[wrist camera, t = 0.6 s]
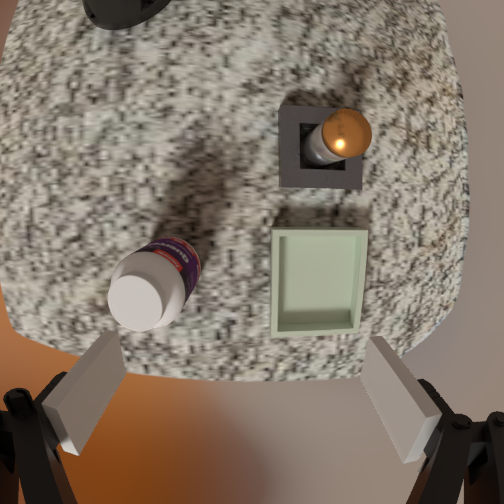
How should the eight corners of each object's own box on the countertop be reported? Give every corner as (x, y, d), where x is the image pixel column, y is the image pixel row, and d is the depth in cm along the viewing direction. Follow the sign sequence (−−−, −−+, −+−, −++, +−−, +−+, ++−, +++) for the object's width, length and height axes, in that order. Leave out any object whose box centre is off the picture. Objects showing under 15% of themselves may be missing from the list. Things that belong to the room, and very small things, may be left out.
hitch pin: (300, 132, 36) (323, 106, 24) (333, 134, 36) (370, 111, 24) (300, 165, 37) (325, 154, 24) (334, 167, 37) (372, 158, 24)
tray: (270, 226, 39) (272, 229, 36) (360, 227, 39) (368, 230, 36) (269, 327, 42) (270, 337, 39) (351, 324, 42) (358, 333, 39)
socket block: (278, 110, 36) (280, 104, 33) (352, 116, 36) (360, 110, 33) (278, 187, 38) (281, 187, 35) (354, 189, 38) (362, 189, 35)
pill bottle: (206, 241, 39) (182, 270, 25) (197, 298, 41) (173, 352, 27) (148, 230, 39) (98, 252, 25) (141, 286, 40) (96, 331, 26)
